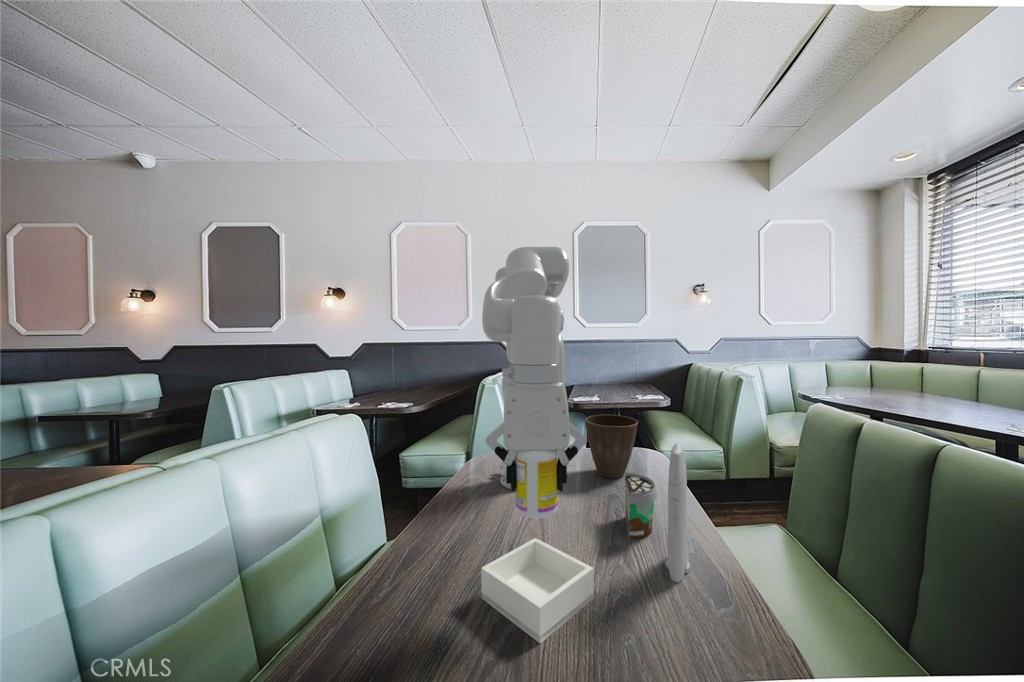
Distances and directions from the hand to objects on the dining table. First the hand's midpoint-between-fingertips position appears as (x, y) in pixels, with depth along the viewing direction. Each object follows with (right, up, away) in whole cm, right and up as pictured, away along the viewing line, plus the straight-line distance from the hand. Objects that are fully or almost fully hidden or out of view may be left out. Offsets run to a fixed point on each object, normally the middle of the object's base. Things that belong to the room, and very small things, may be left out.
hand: (536, 486), depth 62 cm
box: (0, -18, +1) cm, 18 cm away
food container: (+24, -17, +22) cm, 37 cm away
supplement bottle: (0, -4, 0) cm, 4 cm away
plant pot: (+25, -16, +54) cm, 62 cm away
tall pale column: (+26, -18, +8) cm, 32 cm away
